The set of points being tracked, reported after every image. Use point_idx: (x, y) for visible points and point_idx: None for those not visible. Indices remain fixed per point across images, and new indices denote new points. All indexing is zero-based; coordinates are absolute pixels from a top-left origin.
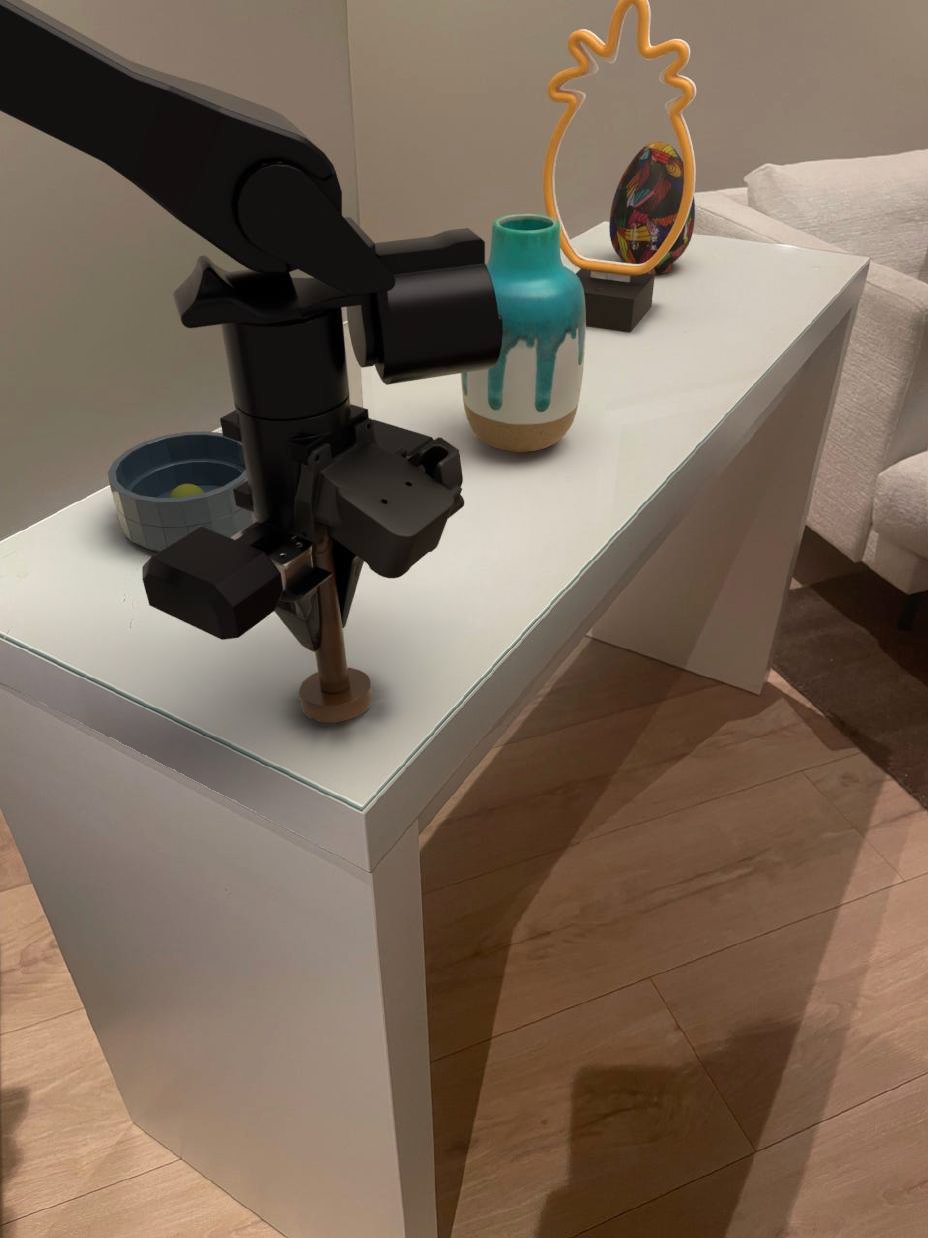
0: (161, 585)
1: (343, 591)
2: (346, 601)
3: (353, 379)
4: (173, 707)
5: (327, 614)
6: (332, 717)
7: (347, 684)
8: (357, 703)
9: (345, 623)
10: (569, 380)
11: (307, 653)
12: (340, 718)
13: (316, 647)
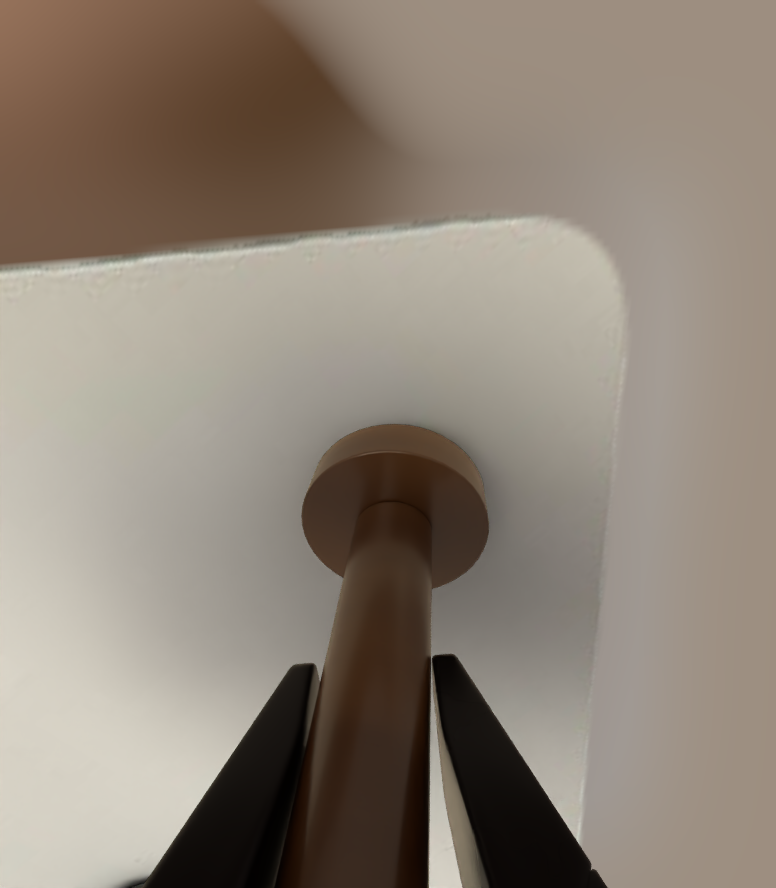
0: None
1: (256, 870)
2: (264, 789)
3: None
4: (578, 696)
5: (397, 791)
6: (470, 465)
7: (381, 508)
8: (408, 445)
9: (291, 677)
10: None
11: (314, 636)
12: (457, 449)
13: (452, 665)
